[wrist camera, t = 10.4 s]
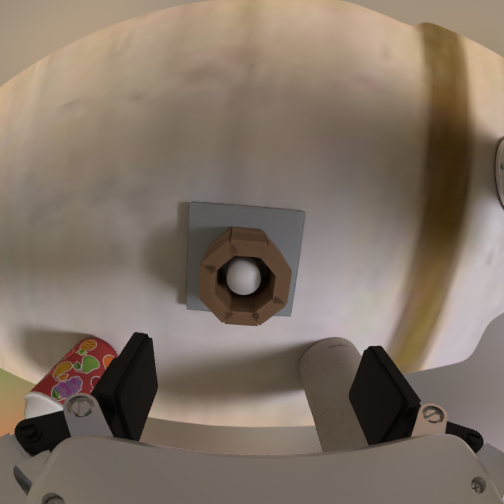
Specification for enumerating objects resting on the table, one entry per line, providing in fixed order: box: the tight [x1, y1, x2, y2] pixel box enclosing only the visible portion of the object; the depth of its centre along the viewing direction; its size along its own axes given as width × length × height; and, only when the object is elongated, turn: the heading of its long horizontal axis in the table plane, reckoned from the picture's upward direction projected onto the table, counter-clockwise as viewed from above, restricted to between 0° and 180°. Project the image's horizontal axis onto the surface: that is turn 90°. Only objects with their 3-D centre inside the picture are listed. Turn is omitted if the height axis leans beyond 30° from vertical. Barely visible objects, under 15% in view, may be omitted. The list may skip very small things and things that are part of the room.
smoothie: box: [24, 338, 118, 419], centre depth 21 cm, size 8×8×20 cm
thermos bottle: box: [299, 338, 369, 452], centre depth 19 cm, size 8×8×28 cm
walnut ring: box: [199, 226, 292, 326], centre depth 24 cm, size 7×7×6 cm
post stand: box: [187, 202, 305, 316], centre depth 25 cm, size 11×11×6 cm
